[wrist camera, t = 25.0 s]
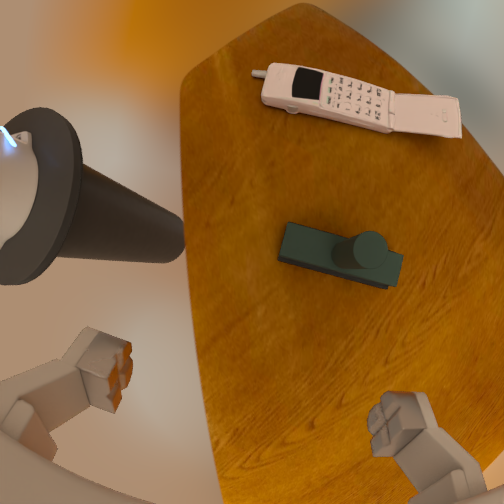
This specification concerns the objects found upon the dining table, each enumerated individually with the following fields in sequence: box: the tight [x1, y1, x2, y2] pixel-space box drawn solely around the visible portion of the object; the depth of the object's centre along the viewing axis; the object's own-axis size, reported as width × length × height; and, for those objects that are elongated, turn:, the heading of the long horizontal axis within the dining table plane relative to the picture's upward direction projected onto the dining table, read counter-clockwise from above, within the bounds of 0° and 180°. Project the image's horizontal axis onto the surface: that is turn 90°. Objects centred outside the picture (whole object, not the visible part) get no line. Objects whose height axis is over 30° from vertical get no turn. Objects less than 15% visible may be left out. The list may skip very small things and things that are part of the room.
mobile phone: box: [252, 63, 462, 138], centre depth 29 cm, size 6×6×25 cm
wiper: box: [278, 222, 404, 289], centre depth 26 cm, size 12×4×12 cm, turn 75°
